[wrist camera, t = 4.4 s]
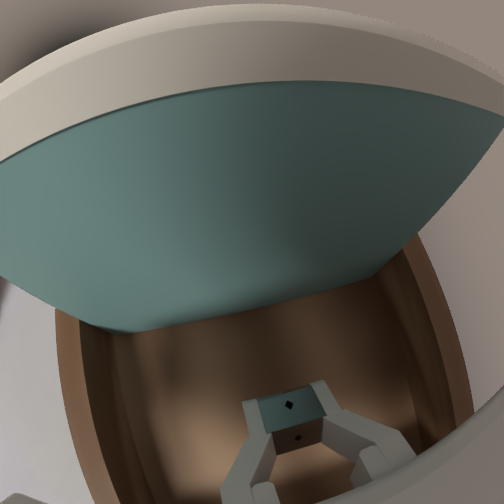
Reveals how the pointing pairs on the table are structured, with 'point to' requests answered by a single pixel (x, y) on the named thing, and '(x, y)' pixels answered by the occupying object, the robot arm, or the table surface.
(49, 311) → the table surface
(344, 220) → the teal flat panel
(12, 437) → the table surface
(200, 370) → the wooden drawer
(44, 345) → the table surface
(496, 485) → the robot arm
